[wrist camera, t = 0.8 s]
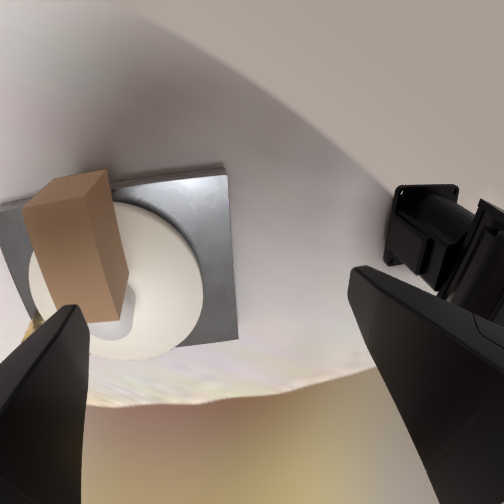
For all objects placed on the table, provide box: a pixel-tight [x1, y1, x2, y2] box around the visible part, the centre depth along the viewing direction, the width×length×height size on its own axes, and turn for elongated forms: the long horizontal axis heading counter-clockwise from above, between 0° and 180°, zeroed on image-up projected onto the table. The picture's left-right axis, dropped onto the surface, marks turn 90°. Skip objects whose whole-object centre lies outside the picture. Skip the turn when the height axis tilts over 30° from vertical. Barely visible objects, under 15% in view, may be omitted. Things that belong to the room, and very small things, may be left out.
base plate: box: [0, 168, 239, 347], centre depth 20 cm, size 15×12×2 cm
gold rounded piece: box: [21, 311, 45, 343], centre depth 18 cm, size 2×2×4 cm
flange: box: [21, 169, 203, 361], centre depth 16 cm, size 11×13×5 cm
